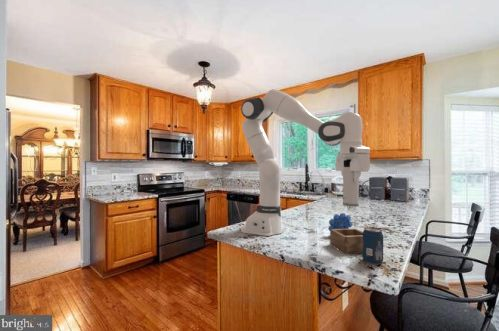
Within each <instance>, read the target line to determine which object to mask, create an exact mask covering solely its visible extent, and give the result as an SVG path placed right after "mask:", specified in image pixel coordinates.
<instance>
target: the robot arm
mask: <svg viewBox="0 0 499 331" xmlns="http://www.w3.org/2000/svg"><path fill="white" fill-rule="evenodd" d="M240 111H241V112H240V113H241V114H242V117H244V118H246V119H244V120H243V121H242V124H241V127H242V132H243V135H244V137H245V140H246V142H247V144H248V148H249V149H250V151H251V153H252V156H253V158H254V160H255V162H256V164H257V165H258V168H259V170H258V176H259V203H257V204H256V205H255V211H254V212H253V213H252V214H251V215H249V216H248V217H247V218H246V219H245V224H244V225H243V226H242V227H241V228H240V232H241V233H243V234H250V235H258V236H265V237H270V236H274V235H279V234H282V233H283V232H284V230H283V227H282V221H281V218H282V217H281V215H282V205H281V177H282V176H281V174H282V172H281V171H282V169H281V165H280V163H279V161H278V158H277V156H276V155H275V154H276V153H275V152H274V149H273V147H272V144H271V142H270V140H269V138H268V136H267V133H266V131H265V130H264V127H263V123H265V122H266V121H267V120H268V119H269V118H270V117H272V115H273V114H275V115H276V116H278V117H280V118H283V119H284V120H286V121H289V122H292V123H294V124H299V125H300V126H303V127H306V128H307V129H309V130H310V131H312V132H314V133H315V134H317V135H318V137H319V139H320V140H322V142H324V143H325V144H326V145H327V146H330V147H331V146H332V147H334V146H338V145H339V146H340V147H339V152H338V154H337V156H336V158H335V166H334V168H335V170H336V171H337V172H340V173H341V176H342V177H343V169H344V168H343V167H344V160H347V159H351V162H350V171H354V174H355V177H354V178H353V182H355V183H358V182H359V181H360V177H361V175H362V173H366V172H367V173H368V172H369V170H370V168H371V167H370V166H371V165H370V164H371V157H370V153H371V148H370V147H368V146H365V145H363V140H362V136H363V119H362V117H361V115H360V114H358V113H356V112H349V111H347V112H344V113H342V114H340V116H338V117H335V118H334V119H330V120H329V121H322V120H320V119H319V118H317V117H315V116H314V115H313V114H311V112H309V110H307V109H306V107H304V105H303V104H302V103H301V102H300V101H299V100H298V99H297V98H295V97H294V96H292V95H290V94H288V93H286V92H284V91H281V90H280V89H279V90H278V89H274V88H272V89H270V90H268V91H267V92H266V94H265V95H264V97H258V96H257V97H250V98H247V99H245V100H244V101H243V102H242V103H241V107H240ZM359 183H360V182H359Z"/></svg>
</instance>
